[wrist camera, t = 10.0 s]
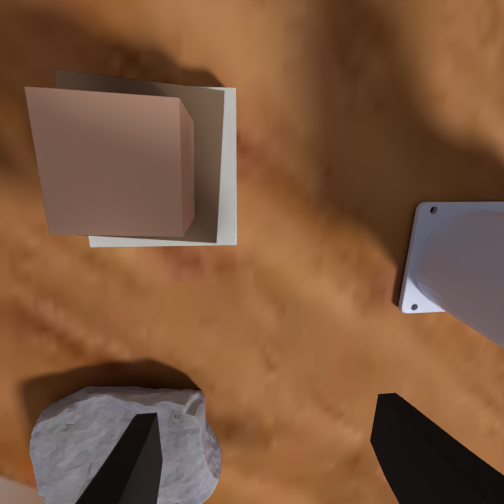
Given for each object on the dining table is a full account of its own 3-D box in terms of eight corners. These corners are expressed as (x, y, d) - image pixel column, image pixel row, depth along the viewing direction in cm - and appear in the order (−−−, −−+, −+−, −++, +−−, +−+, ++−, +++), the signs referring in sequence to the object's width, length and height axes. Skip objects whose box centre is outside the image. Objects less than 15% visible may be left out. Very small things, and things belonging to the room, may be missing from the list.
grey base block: (234, 99, 16) (235, 88, 14) (234, 234, 18) (236, 244, 16) (88, 94, 15) (62, 80, 13) (108, 236, 17) (90, 247, 15)
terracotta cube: (193, 121, 12) (179, 97, 8) (194, 216, 13) (182, 237, 9) (92, 115, 11) (24, 86, 7) (103, 214, 12) (49, 234, 8)
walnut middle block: (224, 103, 14) (224, 90, 11) (217, 231, 16) (216, 243, 13) (84, 87, 13) (53, 69, 10) (95, 223, 15) (70, 234, 12)
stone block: (52, 378, 22) (81, 491, 23) (4, 421, 17) (43, 562, 18) (204, 347, 23) (224, 457, 24) (199, 380, 18) (225, 515, 19)
